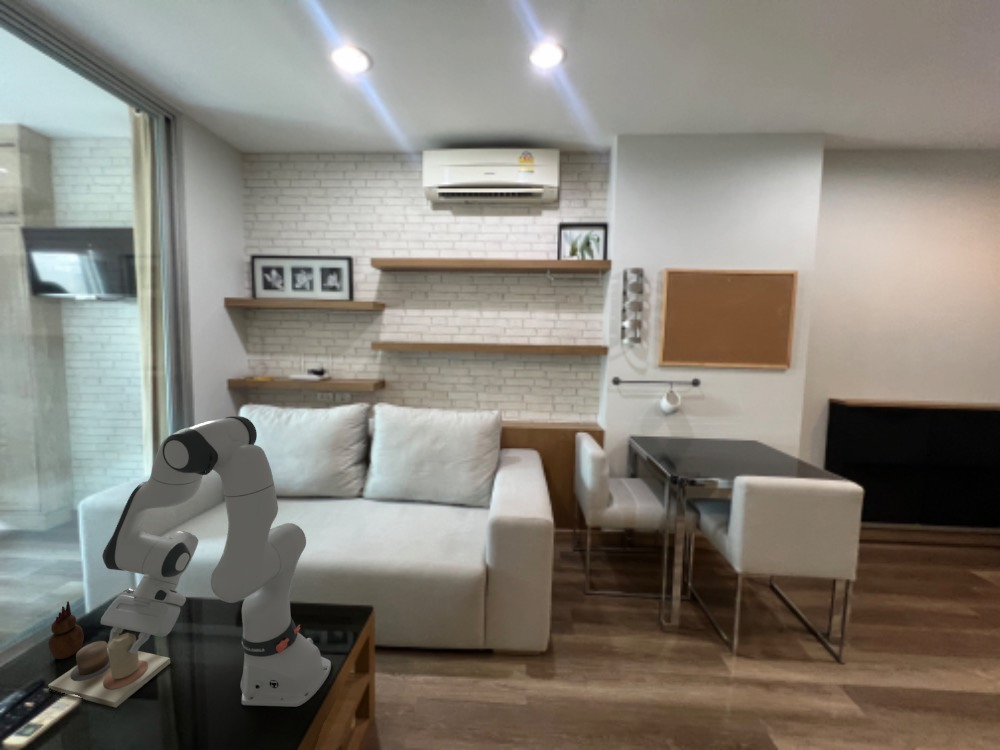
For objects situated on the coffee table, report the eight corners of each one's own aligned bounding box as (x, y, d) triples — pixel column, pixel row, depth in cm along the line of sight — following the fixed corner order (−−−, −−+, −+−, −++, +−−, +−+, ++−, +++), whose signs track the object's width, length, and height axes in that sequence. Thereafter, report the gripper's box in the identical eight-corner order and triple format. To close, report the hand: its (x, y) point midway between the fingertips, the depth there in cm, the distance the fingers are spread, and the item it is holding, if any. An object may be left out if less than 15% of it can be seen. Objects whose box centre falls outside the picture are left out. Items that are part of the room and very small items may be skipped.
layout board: (170, 662, 119) (168, 641, 118) (115, 707, 105) (112, 683, 104) (108, 648, 124) (105, 627, 123) (48, 690, 110) (45, 666, 109)
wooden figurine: (77, 642, 126) (70, 595, 124) (89, 648, 124) (82, 601, 122) (47, 659, 120) (39, 610, 117) (58, 666, 118) (50, 616, 115)
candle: (136, 658, 117) (132, 625, 115) (141, 669, 113) (137, 635, 112) (109, 671, 113) (105, 637, 111) (114, 682, 109) (109, 647, 108)
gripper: (114, 585, 119) (78, 642, 111) (174, 596, 115) (141, 656, 107) (133, 589, 124) (100, 645, 116) (191, 600, 120) (160, 658, 112)
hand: (120, 650), depth 112 cm, fingers closed on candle, 5 cm apart
